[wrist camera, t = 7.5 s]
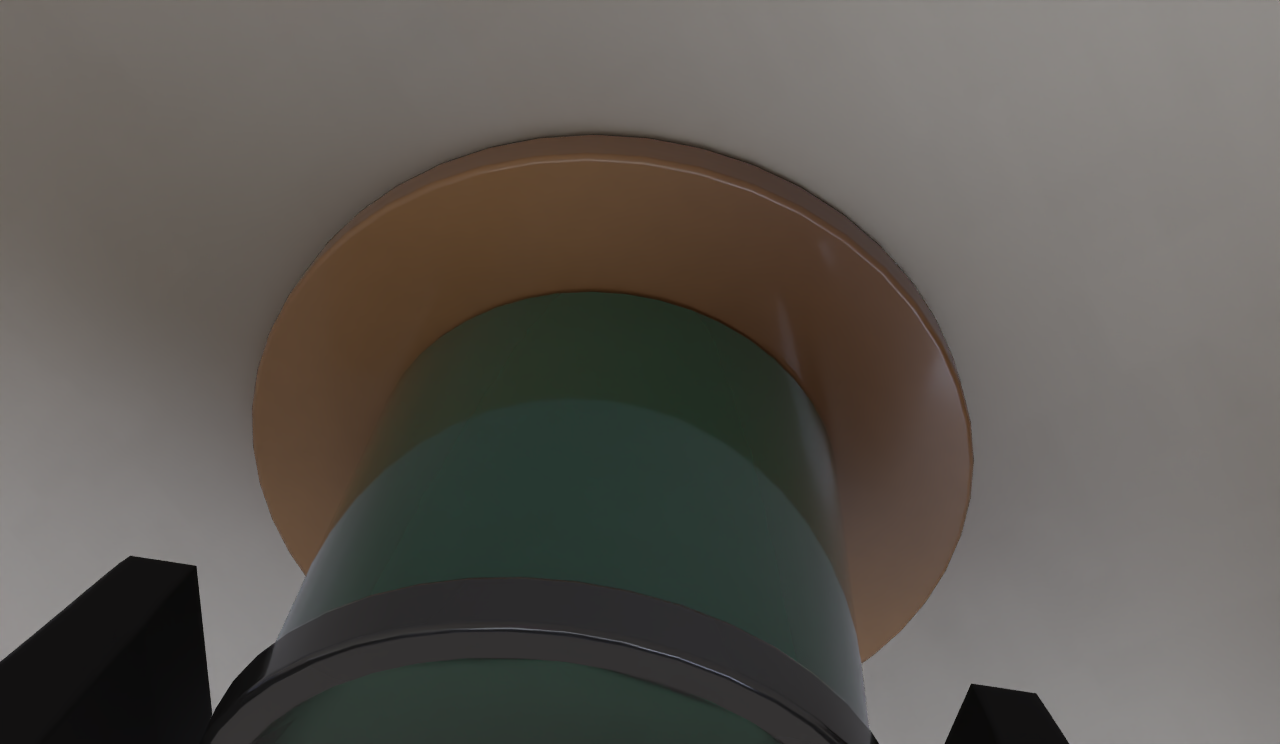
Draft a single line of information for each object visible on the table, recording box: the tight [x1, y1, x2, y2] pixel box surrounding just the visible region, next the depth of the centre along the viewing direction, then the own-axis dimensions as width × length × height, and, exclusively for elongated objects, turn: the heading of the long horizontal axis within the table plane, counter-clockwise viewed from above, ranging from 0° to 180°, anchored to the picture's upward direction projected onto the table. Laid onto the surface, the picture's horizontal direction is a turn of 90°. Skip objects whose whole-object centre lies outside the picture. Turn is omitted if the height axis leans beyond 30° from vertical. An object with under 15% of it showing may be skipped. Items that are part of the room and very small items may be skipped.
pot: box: [199, 291, 879, 744], centre depth 11 cm, size 6×6×5 cm
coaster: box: [252, 135, 974, 663], centre depth 13 cm, size 8×8×1 cm
